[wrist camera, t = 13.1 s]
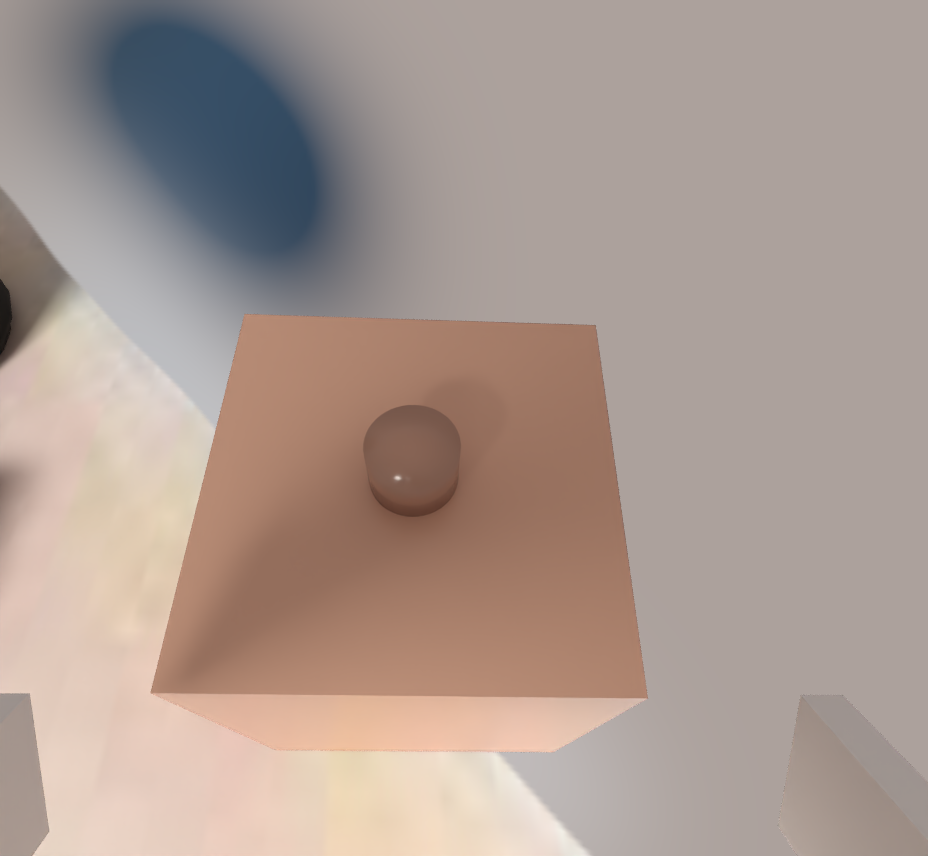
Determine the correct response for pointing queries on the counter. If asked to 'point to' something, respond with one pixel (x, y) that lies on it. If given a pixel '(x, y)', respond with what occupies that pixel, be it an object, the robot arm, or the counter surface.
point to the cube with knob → (407, 542)
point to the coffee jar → (4, 315)
